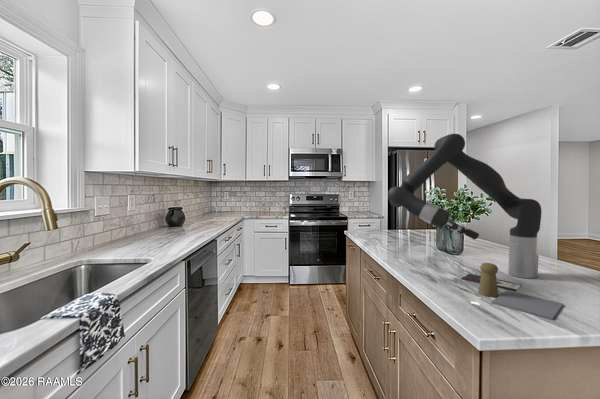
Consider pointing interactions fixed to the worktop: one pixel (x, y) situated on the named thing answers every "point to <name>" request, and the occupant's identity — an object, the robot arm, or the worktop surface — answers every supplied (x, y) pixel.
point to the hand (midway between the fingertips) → (477, 236)
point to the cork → (488, 280)
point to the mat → (528, 304)
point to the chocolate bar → (499, 282)
